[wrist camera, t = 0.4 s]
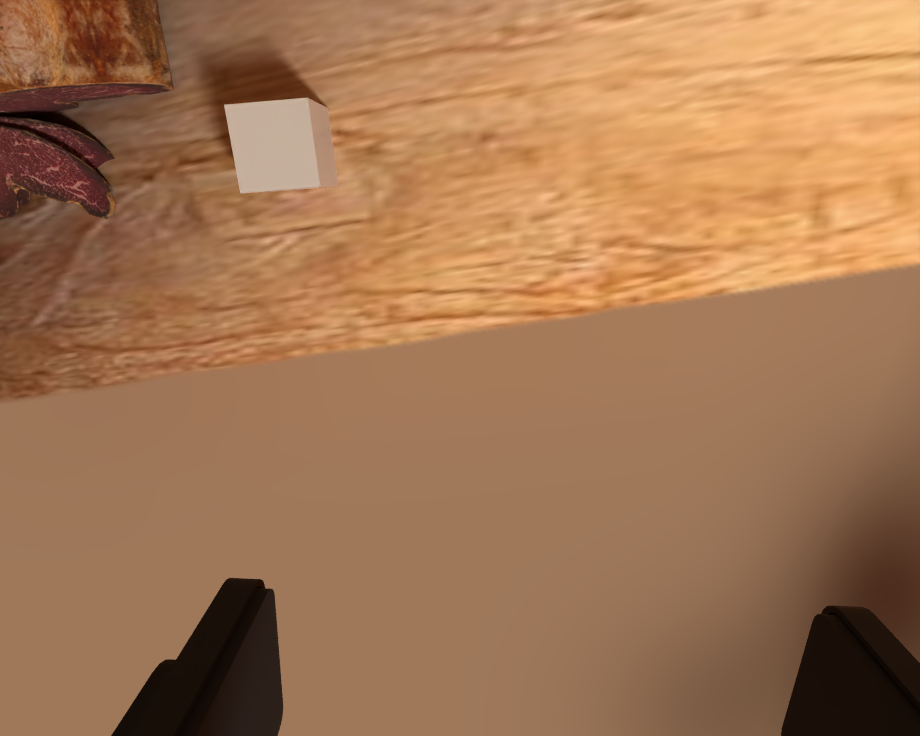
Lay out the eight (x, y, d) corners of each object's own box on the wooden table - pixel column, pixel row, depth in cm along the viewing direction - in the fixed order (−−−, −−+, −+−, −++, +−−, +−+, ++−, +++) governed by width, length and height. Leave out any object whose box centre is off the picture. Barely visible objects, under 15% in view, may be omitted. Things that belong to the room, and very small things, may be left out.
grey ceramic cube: (255, 114, 34) (223, 104, 30) (328, 108, 34) (307, 97, 30) (268, 192, 36) (240, 193, 31) (338, 186, 36) (320, 186, 31)
